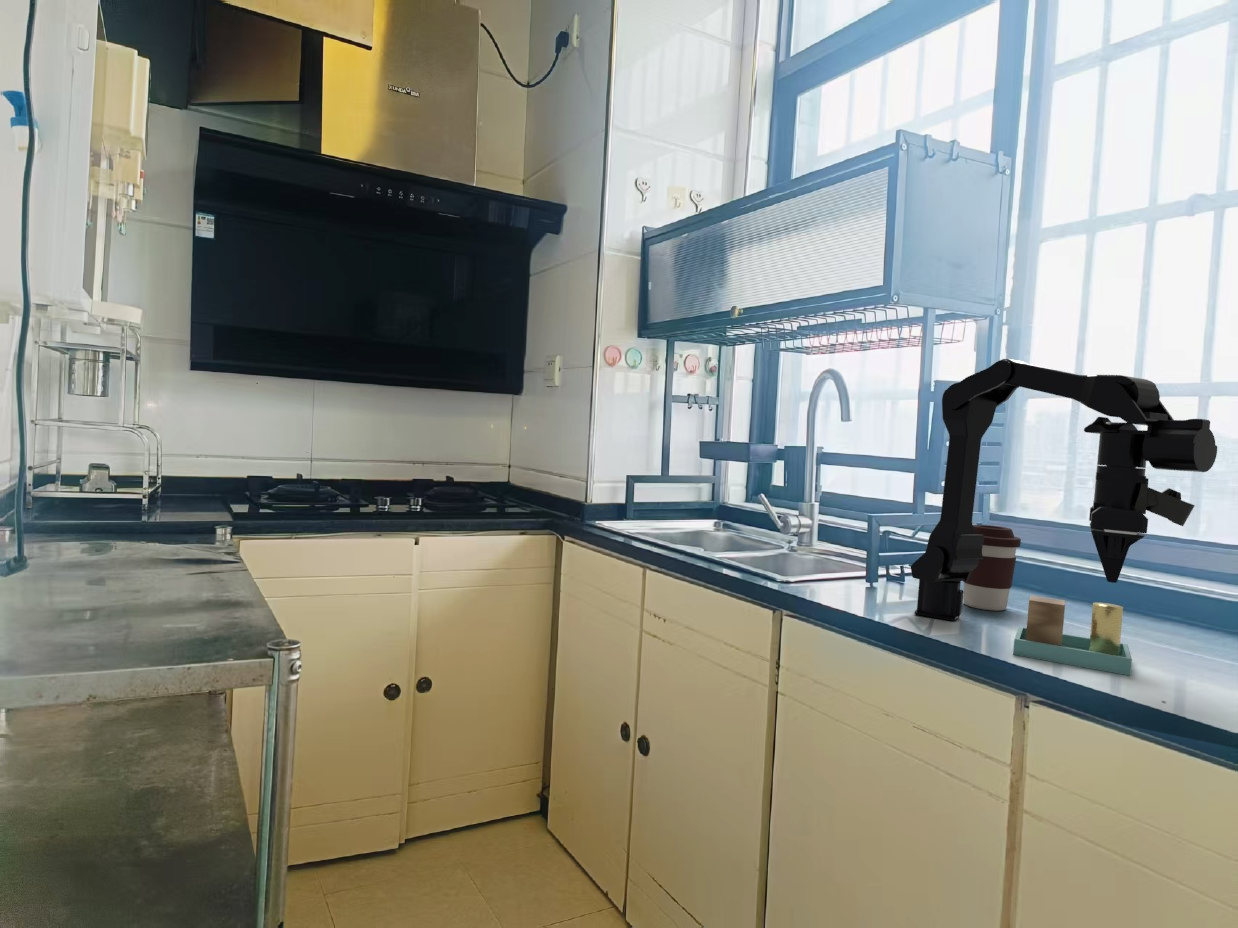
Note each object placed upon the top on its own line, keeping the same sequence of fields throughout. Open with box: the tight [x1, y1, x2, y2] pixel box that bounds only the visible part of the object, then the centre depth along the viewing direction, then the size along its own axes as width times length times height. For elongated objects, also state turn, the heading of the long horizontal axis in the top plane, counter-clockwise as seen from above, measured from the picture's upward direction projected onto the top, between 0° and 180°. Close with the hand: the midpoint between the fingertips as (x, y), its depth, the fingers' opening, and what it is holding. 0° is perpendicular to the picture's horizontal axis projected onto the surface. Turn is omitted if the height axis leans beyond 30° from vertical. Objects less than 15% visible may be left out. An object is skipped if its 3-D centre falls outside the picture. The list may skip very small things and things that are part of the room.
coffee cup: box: [962, 524, 1022, 612], centre depth 145 cm, size 10×10×15 cm
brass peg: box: [1089, 602, 1124, 656], centre depth 109 cm, size 4×4×8 cm
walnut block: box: [1026, 595, 1066, 646], centre depth 113 cm, size 4×4×7 cm
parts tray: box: [1012, 626, 1133, 676], centre depth 111 cm, size 14×10×2 cm
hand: (1110, 578), depth 109 cm, fingers open, 9 cm apart
